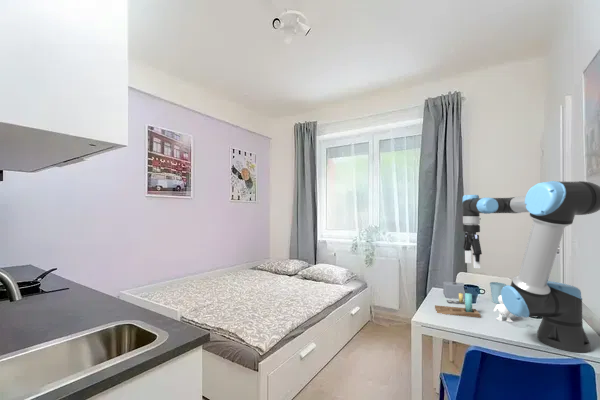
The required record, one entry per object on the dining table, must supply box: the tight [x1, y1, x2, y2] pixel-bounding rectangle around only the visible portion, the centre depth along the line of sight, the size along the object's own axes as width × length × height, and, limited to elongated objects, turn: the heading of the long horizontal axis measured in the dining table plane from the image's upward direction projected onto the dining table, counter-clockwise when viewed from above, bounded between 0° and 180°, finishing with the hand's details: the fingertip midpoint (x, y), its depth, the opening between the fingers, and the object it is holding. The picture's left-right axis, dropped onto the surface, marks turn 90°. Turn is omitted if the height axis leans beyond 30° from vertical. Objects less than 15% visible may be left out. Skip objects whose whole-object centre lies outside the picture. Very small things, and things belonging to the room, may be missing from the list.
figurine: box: [493, 295, 513, 323], centre depth 132 cm, size 8×5×12 cm, turn 60°
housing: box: [442, 281, 466, 300], centre depth 168 cm, size 8×11×8 cm
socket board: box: [434, 305, 481, 319], centre depth 142 cm, size 8×19×2 cm, turn 72°
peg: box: [464, 292, 473, 312], centre depth 141 cm, size 3×3×10 cm
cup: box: [489, 281, 507, 305], centre depth 157 cm, size 8×8×10 cm
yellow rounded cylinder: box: [446, 293, 465, 305], centre depth 157 cm, size 4×8×5 cm, turn 73°
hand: (472, 265), depth 145 cm, fingers open, 13 cm apart
